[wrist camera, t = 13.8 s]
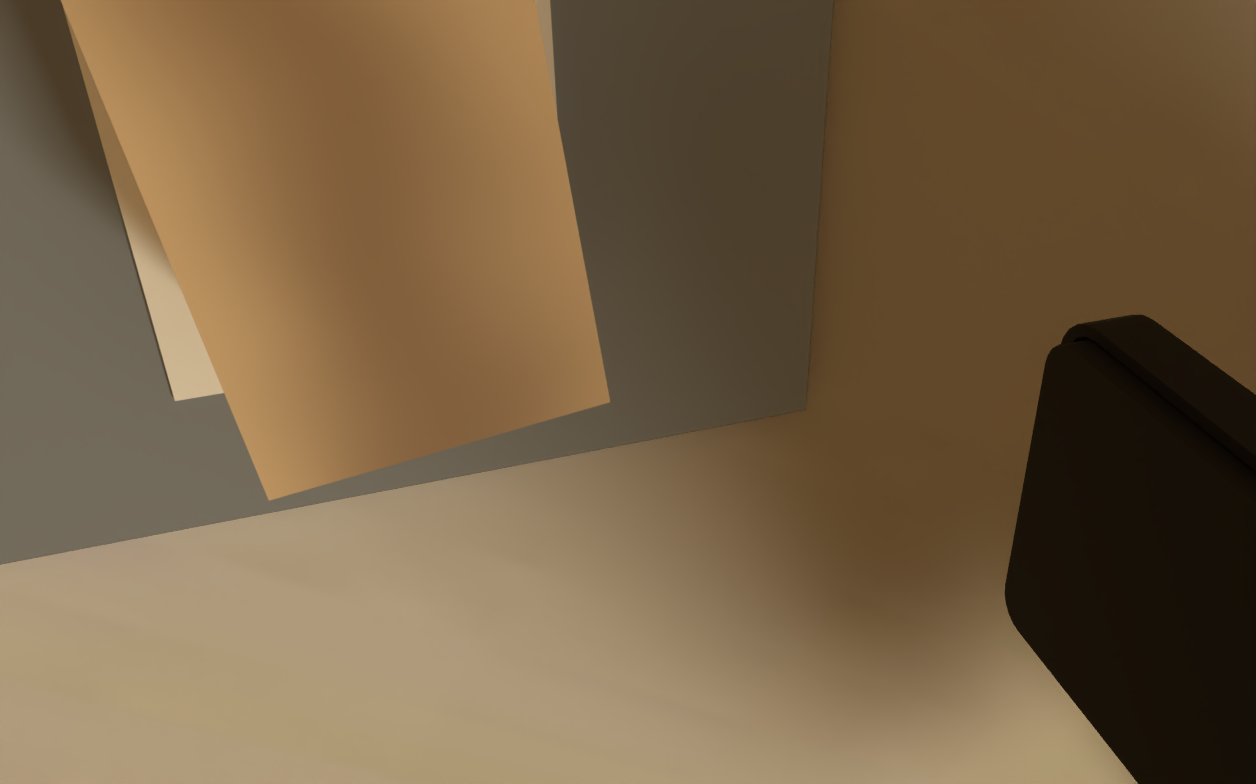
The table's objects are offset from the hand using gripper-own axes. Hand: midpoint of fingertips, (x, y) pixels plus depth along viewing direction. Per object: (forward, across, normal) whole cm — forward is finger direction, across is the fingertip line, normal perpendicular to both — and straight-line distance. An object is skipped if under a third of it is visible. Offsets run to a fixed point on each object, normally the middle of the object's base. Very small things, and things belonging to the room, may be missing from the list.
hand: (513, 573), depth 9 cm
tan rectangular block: (+13, +1, -1) cm, 13 cm away
